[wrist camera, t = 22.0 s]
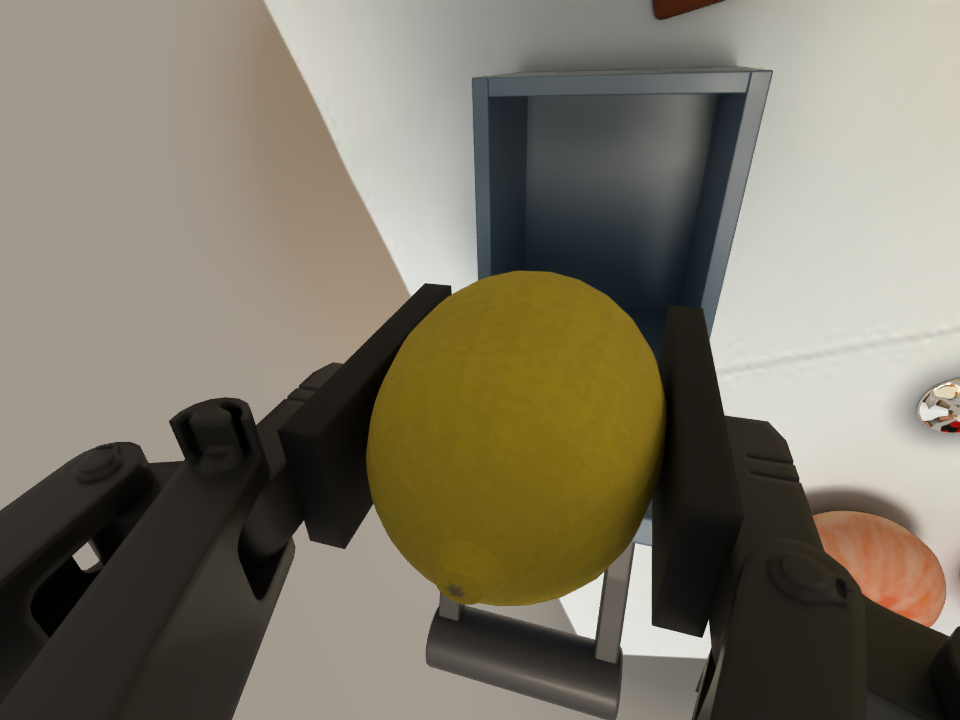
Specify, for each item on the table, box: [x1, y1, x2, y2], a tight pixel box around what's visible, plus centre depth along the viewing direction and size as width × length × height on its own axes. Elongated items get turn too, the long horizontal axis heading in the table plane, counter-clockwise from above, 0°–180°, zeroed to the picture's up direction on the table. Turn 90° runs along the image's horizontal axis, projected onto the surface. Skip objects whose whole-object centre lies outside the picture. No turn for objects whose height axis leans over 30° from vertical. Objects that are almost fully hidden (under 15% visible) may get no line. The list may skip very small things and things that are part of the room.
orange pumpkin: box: [813, 511, 946, 627], centre depth 38 cm, size 11×11×8 cm
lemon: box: [366, 271, 667, 606], centre depth 10 cm, size 6×6×8 cm
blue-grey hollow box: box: [472, 67, 773, 367], centre depth 29 cm, size 16×13×10 cm
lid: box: [426, 500, 652, 720], centre depth 22 cm, size 16×13×7 cm
